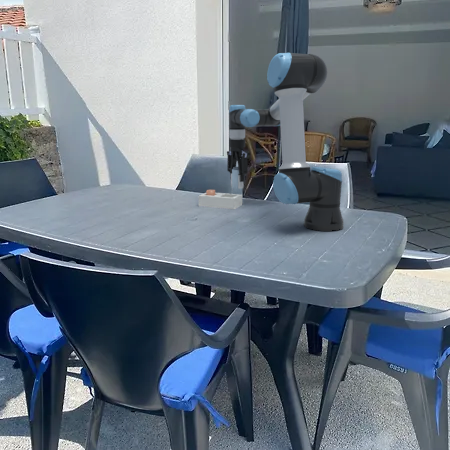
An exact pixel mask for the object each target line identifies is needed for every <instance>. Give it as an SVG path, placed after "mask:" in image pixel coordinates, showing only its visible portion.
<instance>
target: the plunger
mask: <svg viewBox="0 0 450 450" xmlns="http://www.w3.org/2000/svg"><path fill="white" fill-rule="evenodd" d="M205 193H206V195H211V196H214V195H215V193H216V189H207V190H206V192H205Z"/></svg>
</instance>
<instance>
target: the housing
mask: <svg viewBox="0 0 450 450" xmlns="http://www.w3.org/2000/svg"><path fill="white" fill-rule="evenodd" d="M242 205H243V194H242V195H241V194H232V193H228V192H227V193H224V192H215V195H214V196H211V195H206V192H204V193H202V194H200V195H198V207H203V208H204V207H205V208H214V209H225V210H226V209H227V210H236V209H238V208H240V207H241V206H242Z"/></svg>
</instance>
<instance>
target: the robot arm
mask: <svg viewBox="0 0 450 450" xmlns="http://www.w3.org/2000/svg"><path fill="white" fill-rule="evenodd" d="M267 67H268V68H267V76H266V78H267V83H268V86H270V87H271V88H274V95H275V96H276V97H278V99H277V100H276V101H274V103H273V104H272V105H271V106H270V107H269V108H265V109H264V108H263V109H262V108H246V105H244V104H231V105H229V113H228V118H229V119H228V121H229V125H228V126H229V127H228V128H229V129H228V133H229V134H228V135H229V136H228V138H229V140H228V141H229V142H228V144H229V145H228V146H229V148H230V150H227V151H226V156H227V172H228V173H229V174H230V188H232V169H233V167H238V168H239V174H238V189H240V188H242V189H244V182H245V175H247V174H248V157H249V153H248V152H245V147H246V139H245V138H246V128H253V127H279V126H280V140H281V142H280V144H281V160H282V164H281V165H280V166H279V167H278V173H277V174H275V175H274V177H273V180H272V186H273V187H272V188H273V191H274V194H275V197H276V198H277V199H278V202H280V203H282V204H284V205H296V204H303V203H304V204H305V203H309V207H308V209H307V212H306V215H305V218H304V221H303V226H304V227H305V228H306V229H310V230H312V229H313V231H318V230H321V231H320V232H333V231H332V230H336V231H339V229H340V230H342V229H344V219H343V214H342V212H341V196H342V195H341V194H342V186H343V185H342V183H343V179H342V178H343V177H342V176H343V175H342V174H343V173H342V171H340V170H339V169H335V168H329V167H323V166H321V167H320V166H312V167H311V165H309V164H308V163H307V160H306V159H307V158H306V157H307V156H306V141H305V118H304V117H305V115H304V100H305V99H306V98H308V97H309V96H310V95H312V94H315V93H316V92H318V91H319V90H320V89H321V88H322V87H323V85H324V84H325V82H326V80H327V77H328V67H327V65H326V62H325V60H323V58H321V57H320V56H319V55H316V54H312V53H309V54H308V53H295V52H280V53H277V54H275V55H274V56H273V57H272V59H271V60H270V62H269V64H268V66H267Z"/></svg>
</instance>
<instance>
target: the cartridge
mask: <svg viewBox="0 0 450 450" xmlns="http://www.w3.org/2000/svg"><path fill="white" fill-rule="evenodd" d="M238 174H239V168H238V166H236V167H233V169H232V187H231V194H241V195H242V196H243V188H240V189H238Z"/></svg>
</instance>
